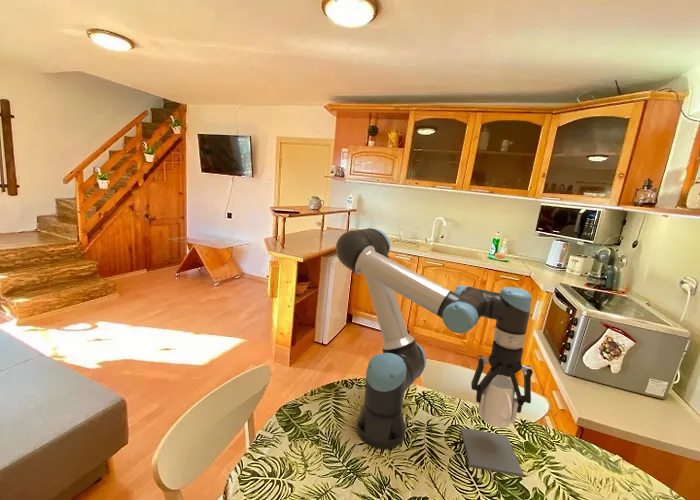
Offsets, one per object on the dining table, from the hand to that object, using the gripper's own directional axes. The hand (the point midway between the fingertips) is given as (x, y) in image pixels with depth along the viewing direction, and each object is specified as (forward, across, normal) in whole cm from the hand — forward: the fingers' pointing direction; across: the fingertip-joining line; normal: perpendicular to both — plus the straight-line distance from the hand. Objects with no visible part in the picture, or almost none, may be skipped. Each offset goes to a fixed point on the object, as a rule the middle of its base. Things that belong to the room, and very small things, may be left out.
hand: (495, 416), depth 90 cm
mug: (+2, 0, 0) cm, 2 cm away
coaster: (+12, 0, 0) cm, 12 cm away
